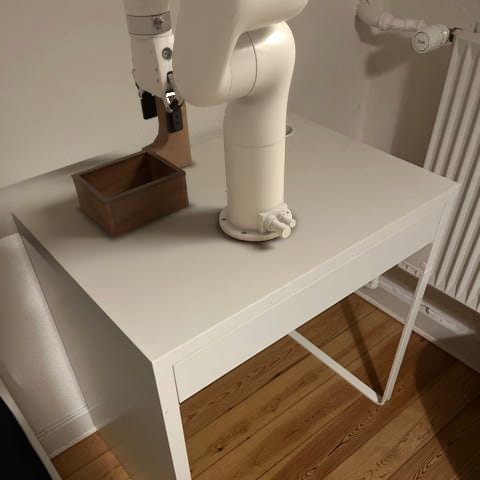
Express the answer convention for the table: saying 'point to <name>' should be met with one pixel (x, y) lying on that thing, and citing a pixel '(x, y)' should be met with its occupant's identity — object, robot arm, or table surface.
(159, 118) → the wooden block
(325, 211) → the table surface
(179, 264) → the table surface
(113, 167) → the wooden box
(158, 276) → the table surface
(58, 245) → the table surface
